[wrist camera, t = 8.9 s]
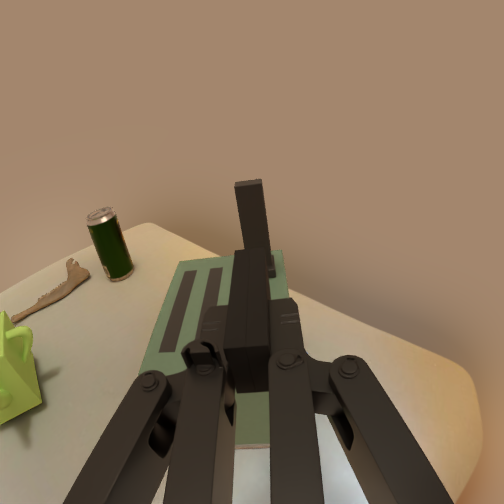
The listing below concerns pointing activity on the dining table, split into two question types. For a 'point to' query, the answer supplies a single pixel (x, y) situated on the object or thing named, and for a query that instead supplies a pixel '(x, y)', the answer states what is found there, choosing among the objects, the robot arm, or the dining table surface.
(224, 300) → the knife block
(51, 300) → the jawbone
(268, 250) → the slider
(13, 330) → the teapot
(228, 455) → the robot arm
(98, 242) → the green soda can
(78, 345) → the dining table surface
